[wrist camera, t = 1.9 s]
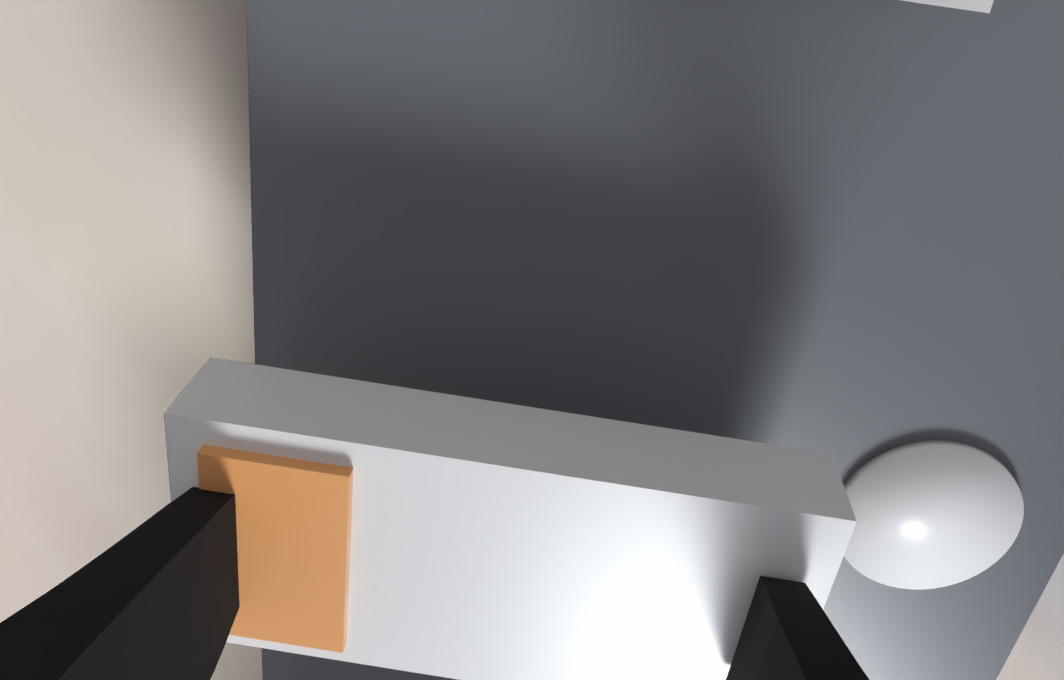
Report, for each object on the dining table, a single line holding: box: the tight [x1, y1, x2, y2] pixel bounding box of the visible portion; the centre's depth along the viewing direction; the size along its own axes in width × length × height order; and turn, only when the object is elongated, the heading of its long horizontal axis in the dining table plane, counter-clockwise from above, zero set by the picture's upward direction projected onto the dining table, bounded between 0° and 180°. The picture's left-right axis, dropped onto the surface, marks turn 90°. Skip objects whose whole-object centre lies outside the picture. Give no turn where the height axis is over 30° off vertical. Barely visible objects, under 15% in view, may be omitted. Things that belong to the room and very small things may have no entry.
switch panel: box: [246, 0, 1064, 680], centre depth 16 cm, size 14×28×3 cm, turn 173°
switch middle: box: [164, 357, 857, 680], centre depth 13 cm, size 9×4×2 cm, turn 83°
